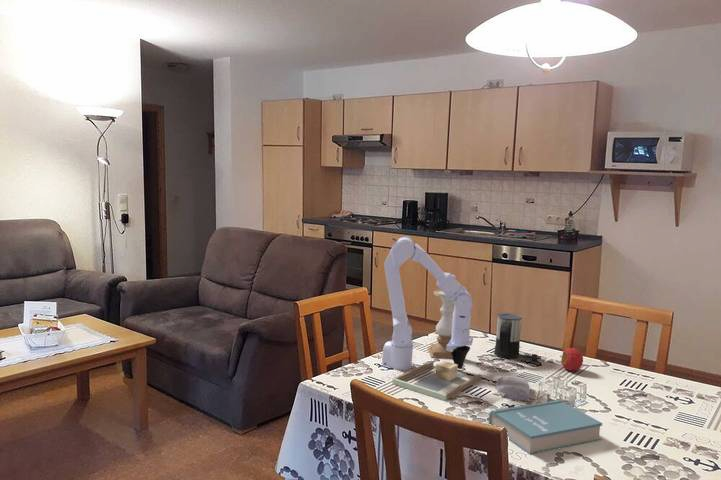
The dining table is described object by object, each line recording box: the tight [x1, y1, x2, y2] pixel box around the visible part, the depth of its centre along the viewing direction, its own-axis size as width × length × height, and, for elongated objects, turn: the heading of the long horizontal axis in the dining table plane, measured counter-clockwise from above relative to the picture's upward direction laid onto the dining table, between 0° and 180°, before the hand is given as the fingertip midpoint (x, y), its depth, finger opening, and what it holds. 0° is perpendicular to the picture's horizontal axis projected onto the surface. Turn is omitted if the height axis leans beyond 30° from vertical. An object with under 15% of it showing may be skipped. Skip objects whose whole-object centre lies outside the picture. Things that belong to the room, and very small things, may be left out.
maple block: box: [434, 360, 458, 381], centre depth 178 cm, size 5×5×4 cm
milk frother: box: [493, 312, 542, 362], centre depth 204 cm, size 14×16×15 cm
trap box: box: [392, 360, 482, 402], centre depth 174 cm, size 18×23×3 cm
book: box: [488, 399, 603, 455], centre depth 146 cm, size 23×16×5 cm
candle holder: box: [427, 288, 454, 360], centre depth 200 cm, size 11×11×24 cm
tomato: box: [559, 347, 584, 372], centre depth 194 cm, size 8×8×8 cm
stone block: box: [495, 375, 531, 402], centre depth 172 cm, size 12×5×10 cm
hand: (458, 367), depth 185 cm, fingers closed
